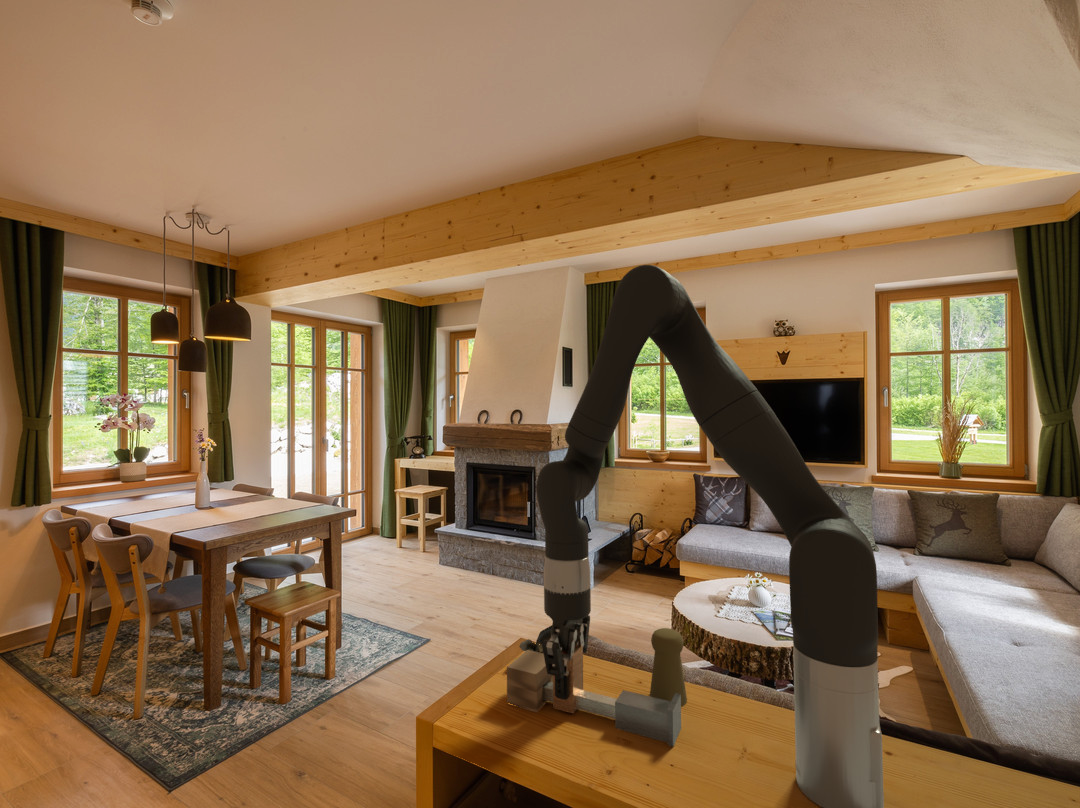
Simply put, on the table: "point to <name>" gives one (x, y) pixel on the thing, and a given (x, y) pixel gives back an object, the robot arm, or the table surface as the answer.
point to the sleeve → (649, 716)
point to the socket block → (527, 681)
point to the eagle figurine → (537, 641)
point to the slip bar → (579, 691)
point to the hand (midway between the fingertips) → (568, 690)
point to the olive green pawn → (667, 666)
